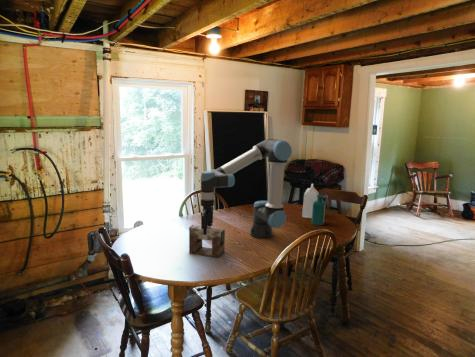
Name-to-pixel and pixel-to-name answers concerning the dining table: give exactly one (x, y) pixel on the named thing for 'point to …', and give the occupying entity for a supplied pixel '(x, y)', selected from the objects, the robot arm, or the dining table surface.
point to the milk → (309, 201)
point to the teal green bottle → (318, 210)
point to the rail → (211, 233)
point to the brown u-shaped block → (197, 248)
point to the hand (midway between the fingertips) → (207, 238)
